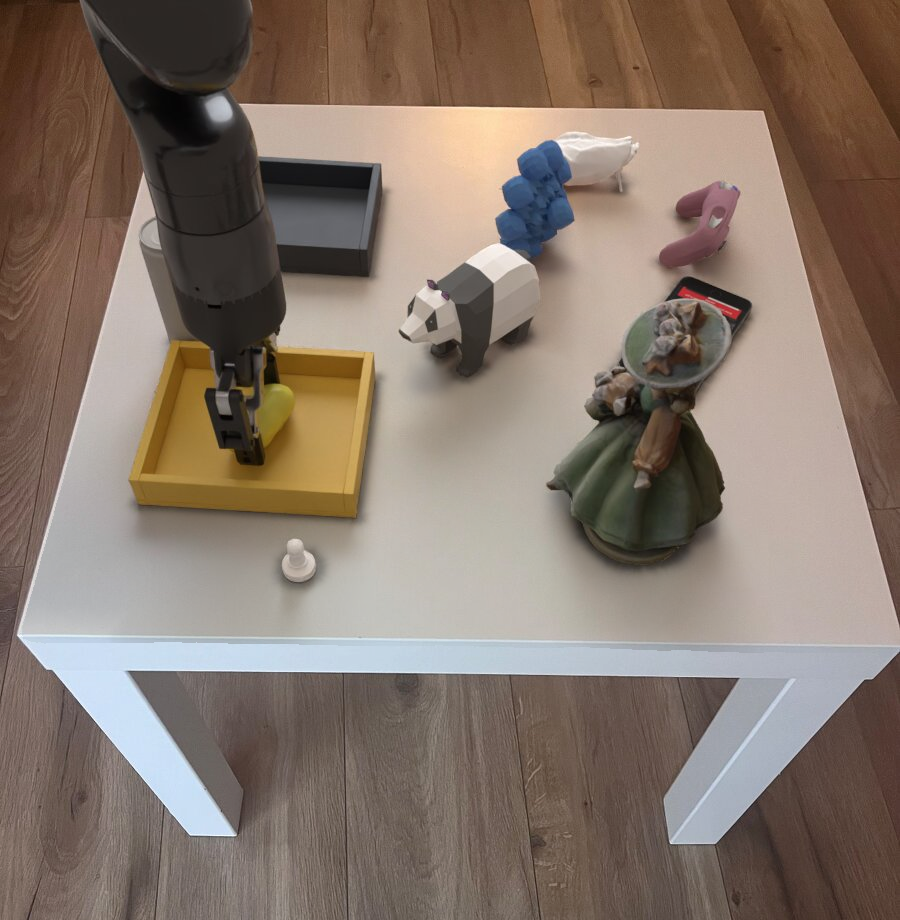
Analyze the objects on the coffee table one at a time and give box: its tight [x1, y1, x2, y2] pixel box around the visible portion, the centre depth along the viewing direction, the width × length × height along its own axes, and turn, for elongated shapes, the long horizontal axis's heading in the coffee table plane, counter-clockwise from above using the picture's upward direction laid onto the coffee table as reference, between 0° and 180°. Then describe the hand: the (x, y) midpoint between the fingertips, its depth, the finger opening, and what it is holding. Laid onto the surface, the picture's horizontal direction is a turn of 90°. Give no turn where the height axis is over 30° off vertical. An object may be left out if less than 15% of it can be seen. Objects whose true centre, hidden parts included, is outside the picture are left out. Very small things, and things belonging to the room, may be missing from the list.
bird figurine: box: [554, 130, 641, 193], centre depth 95 cm, size 5×7×10 cm
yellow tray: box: [127, 340, 376, 519], centre depth 76 cm, size 18×16×3 cm
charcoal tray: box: [258, 155, 383, 278], centre depth 91 cm, size 16×14×3 cm
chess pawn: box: [281, 538, 317, 583], centre depth 69 cm, size 3×3×4 cm
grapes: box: [494, 139, 576, 261], centre depth 85 cm, size 12×7×12 cm, turn 147°
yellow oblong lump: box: [228, 384, 295, 453], centre depth 75 cm, size 4×8×4 cm, turn 145°
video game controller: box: [658, 178, 741, 268], centre depth 90 cm, size 10×5×7 cm, turn 161°
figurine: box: [545, 298, 733, 566], centre depth 67 cm, size 14×14×20 cm
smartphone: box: [617, 275, 753, 393], centre depth 85 cm, size 7×1×15 cm
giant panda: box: [398, 242, 540, 379], centre depth 79 cm, size 15×6×10 cm, turn 133°
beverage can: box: [137, 215, 201, 345], centre depth 78 cm, size 5×5×12 cm
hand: (260, 425), depth 76 cm, fingers closed on yellow oblong lump, 7 cm apart
